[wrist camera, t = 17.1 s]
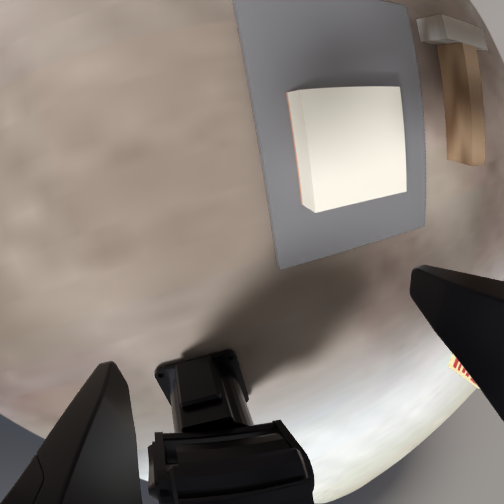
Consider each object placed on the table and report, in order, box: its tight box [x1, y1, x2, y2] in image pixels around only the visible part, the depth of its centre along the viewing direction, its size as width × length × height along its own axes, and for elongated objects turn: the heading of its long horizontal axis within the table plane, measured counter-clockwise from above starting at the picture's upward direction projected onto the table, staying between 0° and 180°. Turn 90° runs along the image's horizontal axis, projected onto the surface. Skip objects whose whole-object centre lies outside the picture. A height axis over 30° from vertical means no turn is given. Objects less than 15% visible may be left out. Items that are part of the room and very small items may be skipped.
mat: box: [232, 0, 426, 270], centre depth 19 cm, size 18×13×1 cm
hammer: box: [416, 14, 488, 166], centre depth 18 cm, size 12×6×3 cm, turn 10°
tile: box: [286, 86, 407, 213], centre depth 18 cm, size 2×7×7 cm
